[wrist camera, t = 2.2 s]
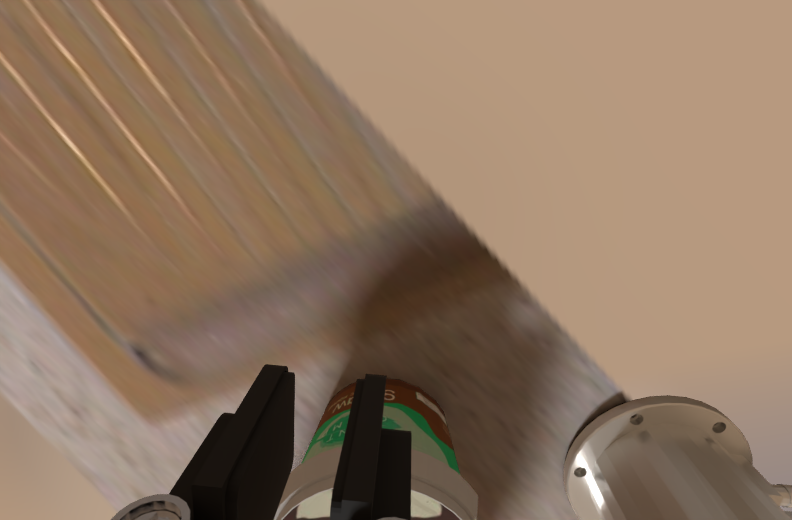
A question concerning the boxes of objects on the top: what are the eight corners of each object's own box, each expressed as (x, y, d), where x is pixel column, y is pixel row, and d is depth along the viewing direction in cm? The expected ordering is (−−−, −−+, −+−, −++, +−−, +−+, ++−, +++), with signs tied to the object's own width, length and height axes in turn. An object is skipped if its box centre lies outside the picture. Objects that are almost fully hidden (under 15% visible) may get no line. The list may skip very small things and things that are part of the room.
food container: (423, 334, 30) (427, 436, 20) (462, 404, 31) (484, 530, 22) (270, 403, 32) (208, 526, 22) (314, 465, 33) (274, 605, 24)
